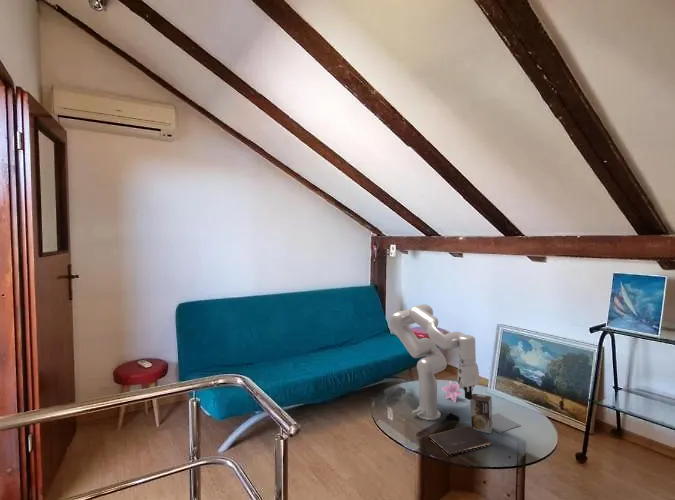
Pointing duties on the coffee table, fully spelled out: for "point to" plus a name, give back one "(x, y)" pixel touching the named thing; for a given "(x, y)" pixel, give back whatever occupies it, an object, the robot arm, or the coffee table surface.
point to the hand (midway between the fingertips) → (468, 398)
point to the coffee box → (481, 413)
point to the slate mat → (502, 423)
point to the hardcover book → (459, 439)
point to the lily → (452, 391)
